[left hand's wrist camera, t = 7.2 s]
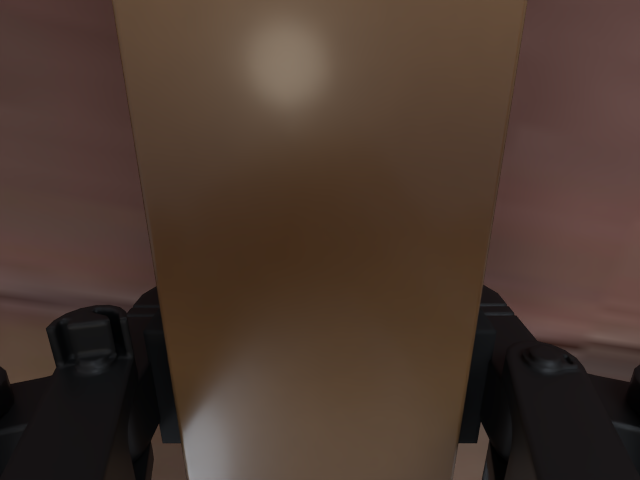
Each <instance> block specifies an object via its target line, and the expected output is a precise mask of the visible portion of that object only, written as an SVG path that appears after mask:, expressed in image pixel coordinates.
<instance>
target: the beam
mask: <svg viewBox="0 0 640 480" xmlns="http://www.w3.org/2000/svg"><path fill="white" fill-rule="evenodd" d="M527 1H528V0H112V4H113V11H114V17H115V23H116V30H117V36H118V43H119V49H120V55H121V62H122V68H123V74H124V81H125V87H126V94H127V100H128V106H129V113H130V119H131V126H132V132H133V138H134V145H135V151H136V158H137V164H138V170H139V177H140V183H141V189H142V196H143V202H144V209H145V215H146V221H147V228H148V234H149V241H150V247H151V253H152V260H153V266H154V273H155V279H156V285H157V292H158V298H159V304H160V311H161V317H162V324H163V330H164V336H165V343H166V349H167V356H168V362H169V368H170V375H171V381H172V388H173V394H174V400H175V407H176V413H177V419H178V426H179V432H180V439H181V445H182V451H183V458H184V464H185V471H186V477H187V480H453V474H454V467H455V461H456V455H457V448H458V442H459V435H460V429H461V423H462V416H463V410H464V403H465V397H466V391H467V384H468V378H469V371H470V365H471V359H472V352H473V346H474V339H475V333H476V327H477V320H478V314H479V307H480V301H481V295H482V288H483V282H484V276H485V269H486V263H487V256H488V250H489V244H490V237H491V231H492V224H493V218H494V212H495V205H496V199H497V192H498V186H499V180H500V173H501V167H502V160H503V154H504V148H505V141H506V135H507V129H508V122H509V116H510V109H511V103H512V97H513V90H514V84H515V77H516V71H517V65H518V58H519V52H520V45H521V39H522V33H523V26H524V20H525V13H526V7H527Z"/></svg>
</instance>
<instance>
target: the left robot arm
mask: <svg viewBox="0 0 640 480" xmlns="http://www.w3.org/2000/svg"><path fill="white" fill-rule="evenodd" d="M46 331H47V334H48V338H49V342H50V345H51V349H52V353H53V356H54V360H55V364H56V369H55V371H54V373H53V375H52V376H48V377H44V378H39V379H34V380H29V381H24V382H19V383H14V384H10V382H9V379H8V376H7V373H6V371H5V370H4V369H3V368H2V367H0V480H151V477H152V469H153V461H154V457H153V450H152V445H151V439H152V437H153V435H154V433H155V430H156V428H157V426H158V424H159V425H160V430H161V436H162V442H163V443H181V439H180V432H179V426H178V419H177V413H176V407H175V400H174V394H173V388H172V381H171V375H170V368H169V362H168V356H167V349H166V343H165V336H164V330H163V324H162V317H161V311H160V304H159V298H158V292H157V286H156V287H154V288H153V289H151V290H149V291H148V292H146V293H145V294H143V295H142V296H141V297H140V298H139V299H138V301H137V302H136V303H135V304H134V305H133V308H131V309H130V310H129V312H128V313H127V314H126V311H124V310H123V309H122V308H120V307H117V306H112V305H95V306H90V307H85V308H80V309H78V310H75V311H72V312H69V313H66V314H64V315H63V316H61V317H59V318H57V319H56V320H54V321H53V322H52V323H51V324H50V325H49V326H48V327H47V328H46ZM481 422H482V425H483V427H484V429H485V431H486V433H487V435H488V437H489V439H490V440H489V445H488V450H487V455H486V461H485V466H484V471H483V476H482V480H640V365H639V366H637V367H636V368H635V369H634V372H633V375H632V378H631V381H630V382H626V381H621V380H616V379H611V378H606V377H601V376H596V375H592V374H588V373H587V372H586V370H585V368H584V367H583V365H582V364H581V363H580V362H579V361H578V359H577V358H576V357H574V356H573V355H571V354H570V353H568V352H567V351H565V350H563V349H561V348H558V347H556V346H554V345H551V344H547V343H543V342H539V341H537V340H536V339H535V338H534V336H533V335H532V334H531V333H530V332H529V330H528V329H527V328H526V327H525V326H524V324H523V323H522V322H521V321H520V320H519V318H518V317H517V316H514V312H513V311H512V310H511V309H510V308H509V306H507V304H506V303H505V302H504V300H503V299H502V298H501V297H500V296H499V294H498V293H496V292H495V291H493V290H491V289H490V288H488V287H486V286H485V285H483V288H482V295H481V301H480V307H479V314H478V320H477V327H476V333H475V339H474V346H473V352H472V359H471V365H470V371H469V378H468V384H467V391H466V397H465V403H464V410H463V416H462V423H461V429H460V435H459V442H458V443H477V440H478V435H479V429H480V423H481Z"/></svg>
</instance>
